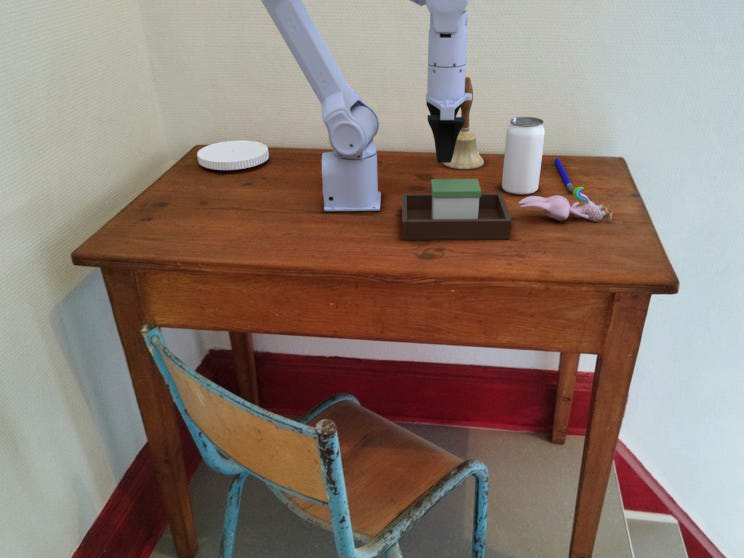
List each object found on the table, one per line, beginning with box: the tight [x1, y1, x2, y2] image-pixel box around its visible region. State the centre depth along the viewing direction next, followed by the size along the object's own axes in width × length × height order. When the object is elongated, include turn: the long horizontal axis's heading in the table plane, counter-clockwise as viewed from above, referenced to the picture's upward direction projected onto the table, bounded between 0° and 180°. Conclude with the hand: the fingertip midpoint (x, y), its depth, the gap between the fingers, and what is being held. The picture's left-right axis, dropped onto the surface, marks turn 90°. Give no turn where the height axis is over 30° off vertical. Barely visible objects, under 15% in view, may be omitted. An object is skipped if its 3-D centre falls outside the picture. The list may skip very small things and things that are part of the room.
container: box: [430, 178, 482, 219], centre depth 104 cm, size 7×5×6 cm
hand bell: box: [442, 76, 485, 171], centre depth 127 cm, size 8×8×16 cm
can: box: [501, 116, 546, 196], centre depth 115 cm, size 6×6×12 cm
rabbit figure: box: [518, 186, 614, 223], centre depth 106 cm, size 6×6×15 cm
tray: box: [401, 192, 512, 241], centre depth 106 cm, size 17×12×3 cm
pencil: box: [554, 158, 575, 193], centre depth 123 cm, size 17×1×1 cm, turn 177°
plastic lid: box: [196, 139, 270, 171], centre depth 133 cm, size 14×14×2 cm
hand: (443, 154), depth 106 cm, fingers open, 7 cm apart
